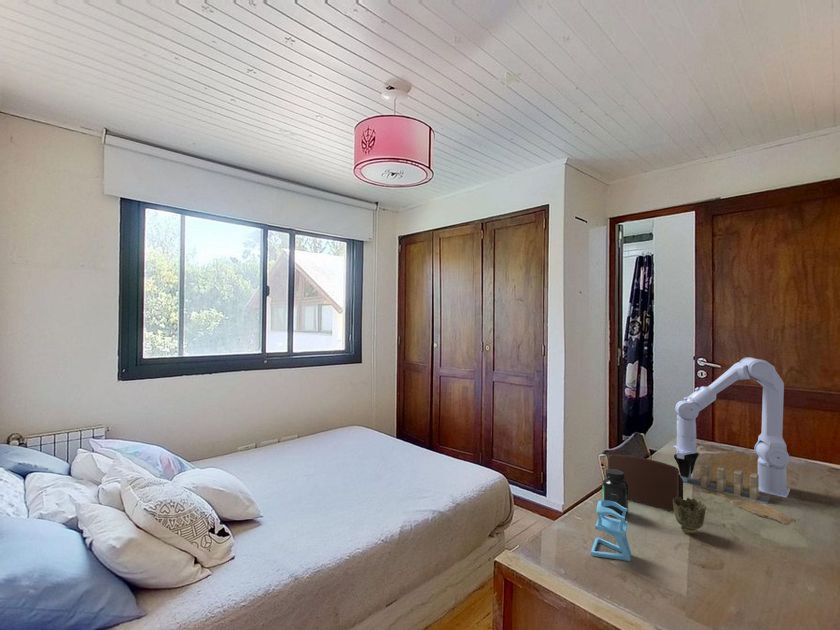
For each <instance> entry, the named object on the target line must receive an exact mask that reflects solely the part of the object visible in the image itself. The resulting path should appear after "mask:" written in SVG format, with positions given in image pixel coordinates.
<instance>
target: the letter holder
mask: <svg viewBox="0 0 840 630" xmlns="http://www.w3.org/2000/svg"><path fill="white" fill-rule="evenodd" d="M607 469H617V470H620V471H623V472H624V481H625V482H626V483H627V485H628V501H630V502H634V503H637V504H642V505H647V506H650V507H653V508H658V509H661V510H665V511H670V512H673V513H674V507H673V498H674V499H675V497H676V496H677V497H678V498H679V497H681V499H682V500H684V483H683V479H682V478H681V475H680V471H679V468H677V466H674V465H671V464H668V463H665V462H661V461H658V460H653V459H650V458H645V457H640V456H634V455H627V454H626V455H623V454H609V455H608V457H607Z"/></svg>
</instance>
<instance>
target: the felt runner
mask: <svg viewBox="0 0 840 630" xmlns="http://www.w3.org/2000/svg"><path fill="white" fill-rule="evenodd" d="M681 478H682V476H681ZM683 484H687V485H691V486H695V487H700V488H703V489H708V490H711V491H715V492H719V493H723V494H727V495H731V496H735V497H738V498H742V499H746V500H750V501H752V502H758V503H761V504H765V505H767V504H768V503H769V501H770V499H771V496H767V495H763V494H760V493H759V496H758V498H757V500H753V499H750V491H747V490H743V493H742V494H741V496H737V495H734V487H730V486H727V485H726V489H725V490H724V491H723V492H721V491H718V490H717V483H714V482H711V481H710V484H709V486H708V487H707V488H706V487H702V486H701V479H698V478H693V477H691V479H690V480H689V481H688V482H685V481H683Z"/></svg>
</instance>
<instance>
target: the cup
mask: <svg viewBox="0 0 840 630" xmlns="http://www.w3.org/2000/svg"><path fill="white" fill-rule="evenodd" d="M706 506H707V505H706V504H705V503H702V502H701V501H698V500H696V499H695V498H690V497H686V499H683V500H682V499H681V497H679V498H678V497H677V496H676V497H675V499H674V498H673V507H674V512H673V513H674V517H675V520H676V522H677V523H678V524H679V525H680V528H681V531H682V532H683V533H684V534H687V535H690V536H695V535H697V533H698V529H701V528H702V527H703V525H704V522H705V519H706V518H705V517H706V510H707V507H706Z"/></svg>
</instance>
